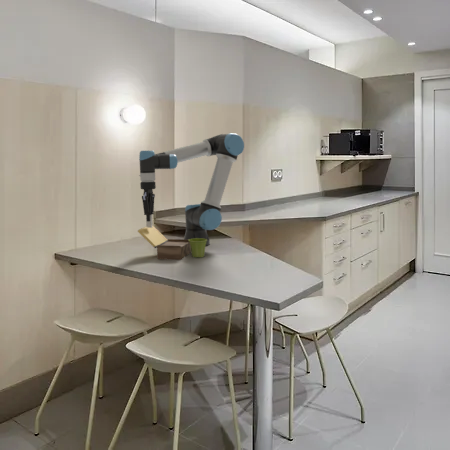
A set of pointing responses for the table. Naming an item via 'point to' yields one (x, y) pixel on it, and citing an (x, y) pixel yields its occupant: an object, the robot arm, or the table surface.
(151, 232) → the pale yellow rectangular panel
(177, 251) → the brown cardboard box
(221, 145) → the robot arm
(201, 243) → the plant pot
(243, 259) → the table surface
